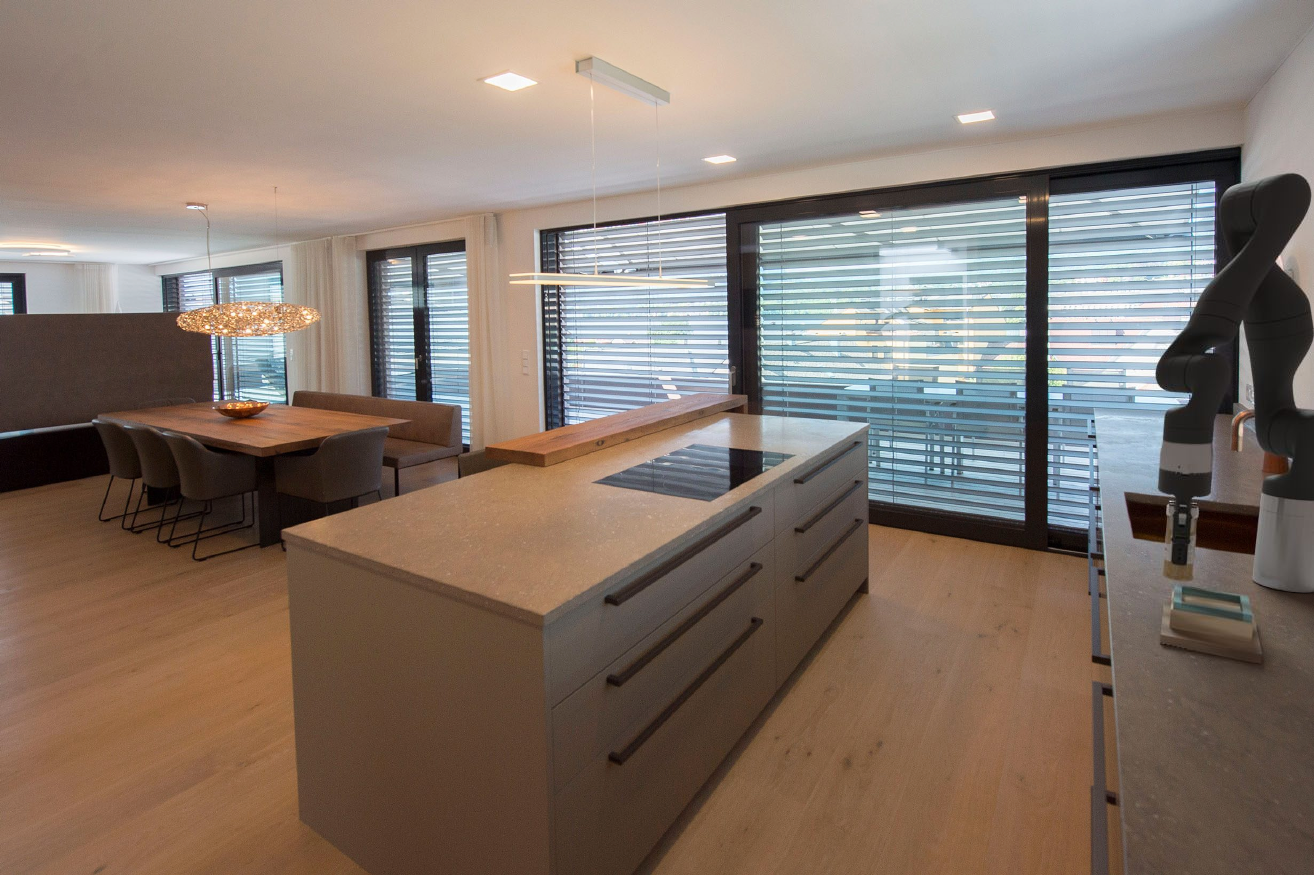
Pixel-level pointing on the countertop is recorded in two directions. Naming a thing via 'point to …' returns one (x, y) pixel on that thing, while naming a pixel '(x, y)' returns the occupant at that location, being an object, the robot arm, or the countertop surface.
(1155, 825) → the countertop surface
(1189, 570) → the sprinkles bottle
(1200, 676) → the countertop surface
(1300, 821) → the countertop surface
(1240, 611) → the build board
